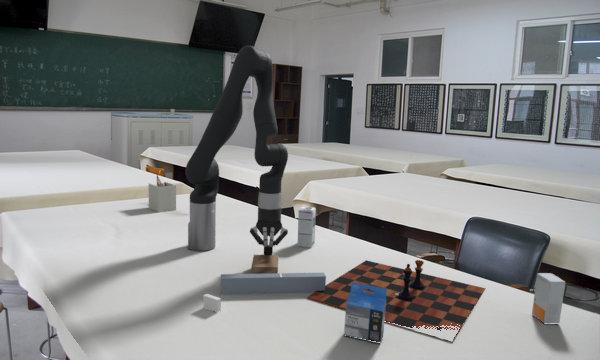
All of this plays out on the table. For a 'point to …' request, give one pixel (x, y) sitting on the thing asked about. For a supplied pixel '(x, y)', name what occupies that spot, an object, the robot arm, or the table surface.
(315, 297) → the chessboard
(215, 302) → the eraser
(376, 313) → the label tape cartridge
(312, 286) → the board
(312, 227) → the syrup box
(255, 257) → the block
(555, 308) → the skincare box
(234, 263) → the table surface
